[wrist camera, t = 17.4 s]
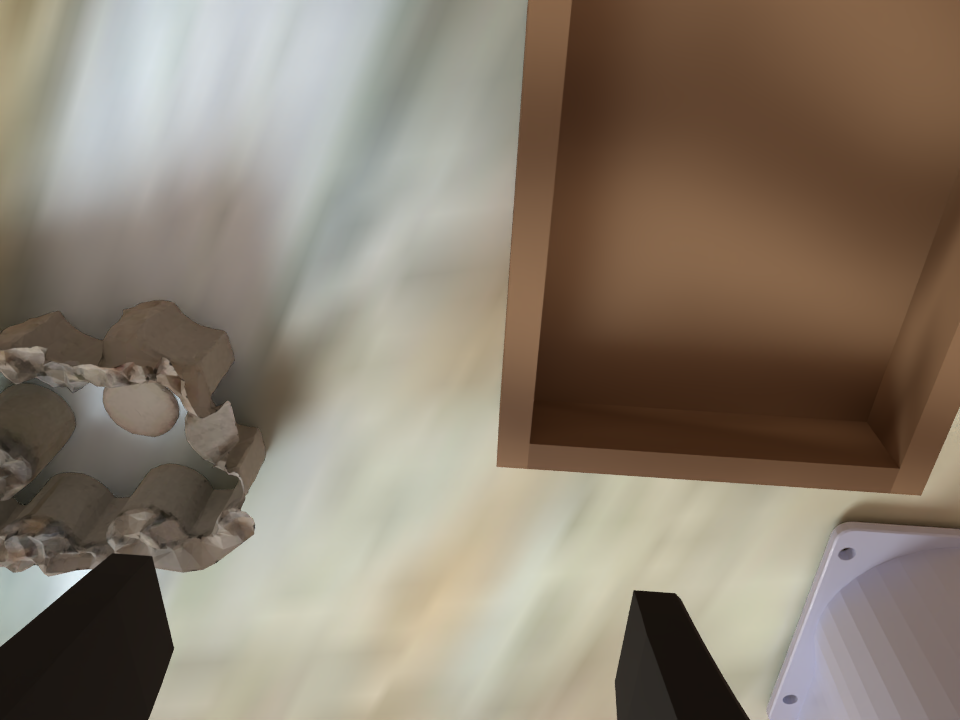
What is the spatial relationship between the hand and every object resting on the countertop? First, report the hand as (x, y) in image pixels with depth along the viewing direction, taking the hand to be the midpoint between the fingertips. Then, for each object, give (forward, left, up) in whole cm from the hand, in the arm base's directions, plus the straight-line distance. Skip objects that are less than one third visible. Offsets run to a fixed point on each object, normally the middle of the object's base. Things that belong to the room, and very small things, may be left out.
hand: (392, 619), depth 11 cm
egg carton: (-4, +11, -11) cm, 16 cm away
